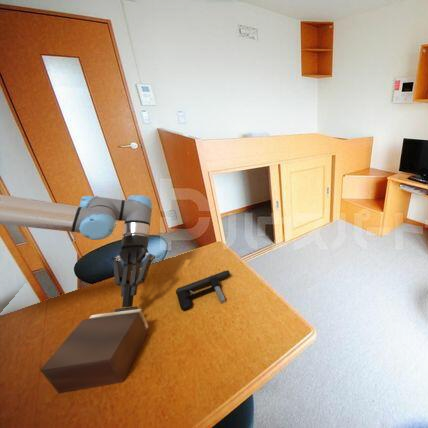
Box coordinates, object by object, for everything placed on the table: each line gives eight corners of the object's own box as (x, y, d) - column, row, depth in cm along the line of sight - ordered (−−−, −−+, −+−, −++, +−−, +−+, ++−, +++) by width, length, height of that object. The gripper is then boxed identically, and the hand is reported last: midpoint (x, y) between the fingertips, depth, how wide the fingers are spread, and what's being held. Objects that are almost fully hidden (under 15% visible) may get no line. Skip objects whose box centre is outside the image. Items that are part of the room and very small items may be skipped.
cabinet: (95, 341, 73) (82, 319, 69) (148, 334, 76) (138, 312, 72) (58, 393, 60) (39, 369, 56) (123, 382, 63) (110, 358, 59)
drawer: (109, 321, 79) (100, 304, 75) (154, 315, 81) (147, 298, 78) (69, 376, 63) (56, 357, 60) (126, 367, 65) (116, 348, 62)
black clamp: (240, 290, 91) (226, 266, 102) (182, 315, 80) (173, 286, 91) (241, 296, 92) (227, 272, 103) (184, 322, 81) (175, 292, 92)
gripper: (160, 238, 90) (155, 303, 82) (121, 241, 88) (111, 309, 80) (150, 232, 83) (143, 303, 75) (108, 236, 81) (95, 310, 73)
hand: (127, 306), depth 78 cm, fingers closed
